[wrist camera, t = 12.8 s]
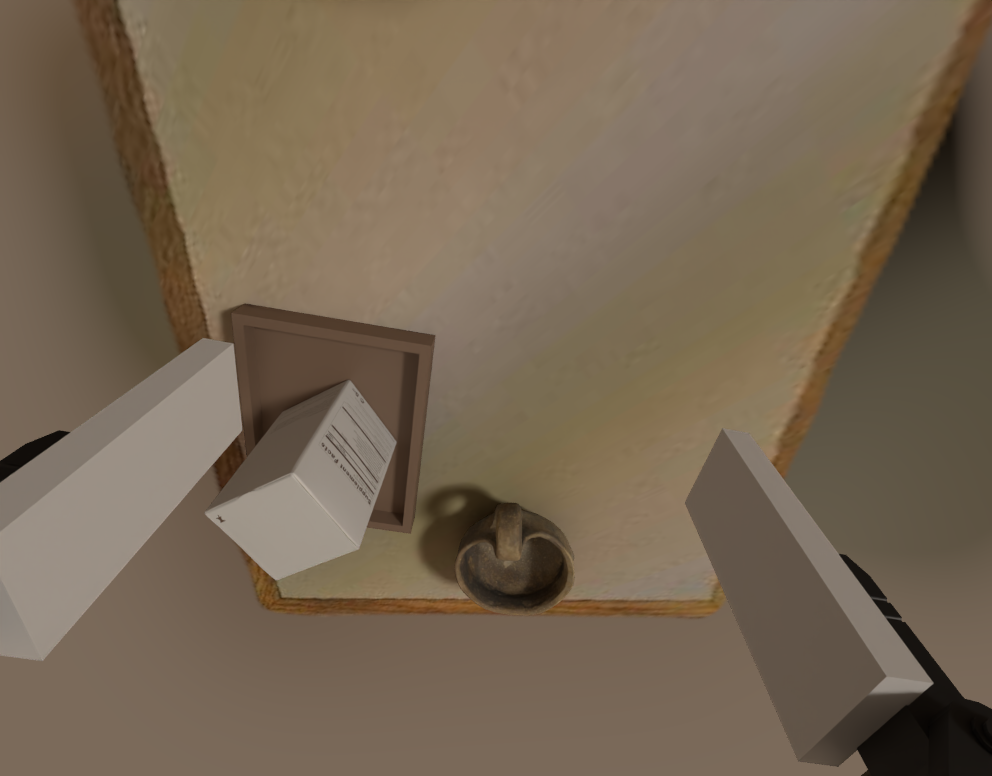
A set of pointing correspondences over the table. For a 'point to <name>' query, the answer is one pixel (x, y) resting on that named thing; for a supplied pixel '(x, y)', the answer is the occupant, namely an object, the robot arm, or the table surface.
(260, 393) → the tray
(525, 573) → the bowl
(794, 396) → the table surface
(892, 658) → the robot arm
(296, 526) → the supplement box
